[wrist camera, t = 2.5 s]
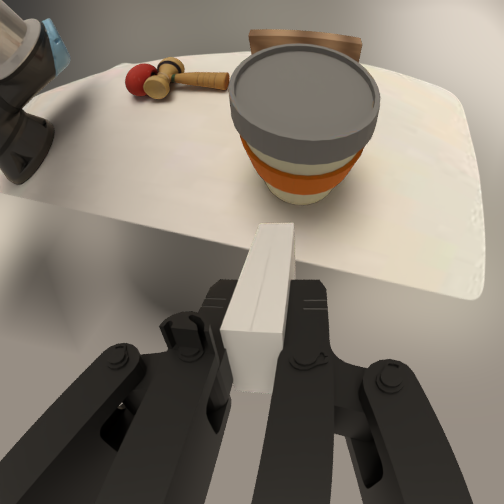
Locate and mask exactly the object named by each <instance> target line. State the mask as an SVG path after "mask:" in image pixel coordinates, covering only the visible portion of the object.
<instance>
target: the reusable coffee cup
mask: <svg viewBox="0 0 504 504" xmlns="http://www.w3.org/2000/svg"><path fill="white" fill-rule="evenodd" d="M229 99H230V107H231V116H232V120H233V123H234V126H235V128H236V129H237V131H238V132H239V134H240V138H241V141H242V144H243V146H244V148H245V150H246V152H247V154H248V156H249V158H250V160H251V162H252V164H253V166H254V168H255V169H256V171H257V173H258V174H259V175H260V176H261V177H262V178H263V179H264V180H265V182H266V184H267V186H268V188H269V189H270V191H271V192H272V193H273V194H274V195H275V196H277V197H278V198H279V199H281V200H283V201H285V202H287V203H291V204H296V205H307V204H312V203H316V202H318V201H320V200H322V199H323V198H324V197H326V196H327V195H328V194H329V193H330V191H331V190H332V189H333V188H334V187H335V186H336V185H338V184H339V183H340V182H341V181H342V180H343V179H344V178H345V176H346V175H347V174H348V172H349V171H350V170H351V168H352V167H353V165H354V164H355V163H356V161H357V160H358V158H359V157H360V156H361V153H362V151H363V149H364V147H365V145H366V144H367V143H368V142H369V140H370V139H371V137H372V135H373V132H374V130H375V126H376V122H377V117H378V113H379V108H380V93H379V89H378V86H377V84H376V82H375V80H374V78H373V77H372V76H371V75H370V73H369V72H368V71H367V70H366V69H365V68H364V67H363V66H362V65H360V64H359V63H358V62H357V61H355V60H354V59H352V58H350V57H349V56H347V55H345V54H343V53H341V52H338V51H336V50H333V49H330V48H327V47H323V46H318V45H312V44H300V43H297V44H283V45H277V46H273V47H269V48H266V49H263V50H261V51H258V52H256V53H254V54H252V55H251V56H249V57H248V58H246V59H245V60H244V61H242V62H241V63H240V65H239V66H238V67H237V68H236V69H235V71H234V72H233V74H232V76H231V79H230V82H229Z"/></svg>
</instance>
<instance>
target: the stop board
mask: <svg viewBox="0 0 504 504" xmlns="http://www.w3.org/2000/svg"><path fill="white" fill-rule="evenodd" d="M249 42H250V48H251V54H254V53H256V52H258V51H261V50H263V49H266V48H269V47H273V46H277V45H283V44H297V43H300V44H312V45H318V46H323V47H327V48H330V49H333V50H336V51H338V52H341V53H343V54H345V55H347V56H349V57H350V58H352V59H354V60H355V61H357V62H358V63H359V58H360V53H361V48H362V42H361V39H360V38H356V37H351V36H344V35H338V34H330V33H322V32H312V31H299V30H272V29H262V30H250V33H249Z"/></svg>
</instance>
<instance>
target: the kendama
mask: <svg viewBox="0 0 504 504" xmlns="http://www.w3.org/2000/svg"><path fill="white" fill-rule="evenodd" d="M184 70H185V68H184V65H183V64H182V62H181V61H180V60H178V59H176V58H173V57H168V58H165V59H163V60H162V61H161V62H160V63H159V64H158V67H157V69H156V68H155V67H154V66H152V65H150V64H139V65H137V66H135V67H133V68H132V69H131V70H130V71H129V72H128V74H127V76H126V79H125V84H126V88H127V90H128V91H129V92H130V93H131V94H133V95H136V96H144V95H148V96H150V97H152V98H154V99H162V98H164V97H165V96H166V95H167V94H168V93H169V90H170V87H169V84H170V82H175V83H181V84H187V85H194V86H202V87H210V88H216V89H221V90H226V89H227V87H228V85H229V73H215V72H213V73H211V72H207V73H206V72H192V73H184Z"/></svg>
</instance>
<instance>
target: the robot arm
mask: <svg viewBox="0 0 504 504" xmlns="http://www.w3.org/2000/svg"><path fill="white" fill-rule="evenodd" d="M69 62H70V55H69V53H68V51H67V49H66V47H65V45H64V43H63V41H62V39H61V37H60V35H59V33H58V32H57V30H56V28H55V26H54V24H53V22H52V21H51V19H46V20H44V21H42V22H41V23H40V22H39V21H37V20H36V19H28V20H25V21H23V20H22V19H21V18H20V17H19V16H18V15H17V14H16V13H15V12H14V11H13V10H12V9H10V8H9V7H8V6H7V5H6V4H5V3H4V2H3V1H2V0H0V169H1V170H2V172H3V173H4V175H5V176H6V177H7V179H8V180H10V181H11V182H13V183H15V184H21V183H23V182H25V181H26V180H27V179H28V178H29V177H31V175H32V174H33V173H34V172H35V171H36V170H37V168H38V167H39V166H40V164H41V163H42V161H43V160H44V158H45V156H46V154H47V152H48V150H49V148H50V146H51V143H52V140H53V136H54V127H53V125H52V124H51V123H50V122H49V121H48V120H46V119H44V118H41V117H38V116H35V115H31V114H28V113H26V112H25V111H24V110H22V108H23V107H24V106H25V105H26V104H27V103H28V102H29V101H30V100H31V99H32V98H33V97H34V96H35V95H36V94H37V93H38V92H40V91H41V90H42V89H43V88H44V87H45V86H46V85H47V84H48V83H50V82H51V81H52V80H53V79H54V78H56V77H57V76H58V74H59V73H60V72H61V71H62V70H63V69H64V68H66V67H67V66H68V64H69ZM159 327H160V329H161V332H162V335H163V337H164V339H165V342H166V344H167V347H168V350H167V351H166V352H161V353H153V354H143V355H140V353H139V351H138V349H137V348H136V347H135V346H133V345H131V344H128V343H121V344H116V345H114V346H111V347H109V348H108V349H107V350H105V351H104V352H103V353H102V354H101V355H100V356H99V357H98V358H97V359H96V360H95V361H94V362H93V363H92V364H91V365H90V366H89V367H88V368H87V369H86V370H85V371H84V372H83V373H82V374H81V375H80V376H79V377H78V378H77V379H76V380H75V381H74V382H73V383H72V384H71V385H70V386H69V387H68V388H67V389H66V390H65V391H64V392H63V393H62V395H61V396H60V397H59V398H58V399H57V400H56V401H55V402H54V403H53V404H52V405H51V406H50V407H49V408H48V409H47V410H46V411H45V413H44V414H43V415H42V416H41V417H40V418H39V419H38V420H37V421H36V422H35V423H34V425H32V426H31V428H30V429H29V430H28V431H27V432H26V433H25V434H24V435H23V436H22V437H21V439H20V440H19V441H18V442H17V443H16V444H15V445H14V447H13V448H12V449H11V450H10V451H9V452H8V453H7V454H6V456H5V457H4V458H3V459H2V460H1V461H0V504H204V502H205V499H206V496H207V492H208V489H209V485H210V482H211V478H212V474H213V471H214V467H215V464H216V460H217V457H218V453H219V449H220V446H221V442H222V438H223V435H224V430H225V427H226V423H227V419H228V416H229V412H230V408H231V397H230V391H231V387H232V383H233V384H234V388H235V390H236V391H245V392H254V393H268V394H272V398H271V404H270V410H269V416H268V421H267V428H266V433H265V439H264V444H263V449H262V454H261V460H260V465H259V470H258V475H257V479H256V484H255V489H254V494H253V498H252V503H251V504H330V496H331V484H332V468H333V467H332V466H333V445H334V434H339V435H342V436H345V439H346V442H347V446H348V449H349V453H350V456H351V460H352V463H353V467H354V471H355V474H356V478H357V482H358V486H359V489H360V493H361V497H362V501H363V504H473V502H472V499H471V496H470V494H469V491H468V488H467V485H466V483H465V480H464V477H463V475H462V472H461V470H460V468H459V465H458V463H457V460H456V458H455V455H454V453H453V451H452V449H451V446H450V444H449V442H448V440H447V437H446V436H445V433H444V431H443V429H442V427H441V425H440V423H439V420H438V419H437V416H436V414H435V412H434V410H433V408H432V407H431V405H430V402H429V400H428V398H427V397H426V395H425V393H424V391H423V389H422V387H421V385H420V383H419V381H418V380H417V378H416V376H415V374H414V373H413V371H412V370H411V369H410V368H409V367H408V366H407V365H406V364H404V363H402V362H400V361H396V360H392V359H386V360H379V361H377V362H375V363H373V364H371V365H370V366H369V367H368V368H363V367H359V366H355V365H351V364H348V363H345V362H344V361H342V360H341V359H339V358H338V357H337V356H336V355H335V354H334V353H333V351H332V349H331V347H330V340H329V322H328V307H327V294H326V288H325V287H324V285H323V284H322V283H321V282H320V280H295V240H294V223H260V224H259V227H258V229H257V232H256V235H255V237H254V240H253V243H252V245H251V248H250V250H249V253H248V256H247V258H246V261H245V264H244V267H243V269H242V272H241V275H240V278H239V280H223V279H222V280H221V279H220V280H219V281H218V282H216V283H215V284H214V285H213V286H212V287H211V288H210V290H209V292H208V293H207V295H206V299H205V300H204V302H203V304H202V307H201V308H200V310H199V312H198V313H197V312H193V311H189V312H180V313H177V314H174V315H172V316H170V317H168V318H167V319H165V320H164V321H163V322H162V323H161V324H160V326H159ZM121 403H123V404H122V405H120V404H121ZM119 405H120V406H119Z"/></svg>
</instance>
